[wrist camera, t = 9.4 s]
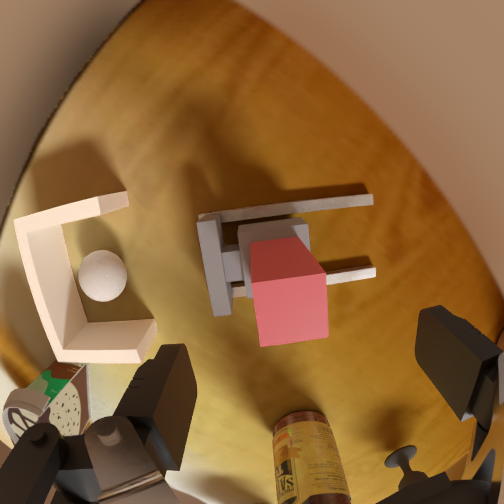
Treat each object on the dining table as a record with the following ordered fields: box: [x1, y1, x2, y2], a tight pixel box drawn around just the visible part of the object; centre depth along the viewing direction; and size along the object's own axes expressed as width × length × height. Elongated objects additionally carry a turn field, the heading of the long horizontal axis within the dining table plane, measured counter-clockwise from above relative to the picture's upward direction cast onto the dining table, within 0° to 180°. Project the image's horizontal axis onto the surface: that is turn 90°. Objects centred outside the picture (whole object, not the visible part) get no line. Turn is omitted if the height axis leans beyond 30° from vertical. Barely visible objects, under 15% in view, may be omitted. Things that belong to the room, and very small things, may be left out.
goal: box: [14, 191, 158, 363], centre depth 21 cm, size 8×12×5 cm
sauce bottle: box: [272, 411, 351, 504], centre depth 18 cm, size 6×6×20 cm
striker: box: [197, 214, 328, 347], centre depth 17 cm, size 7×6×10 cm
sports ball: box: [78, 250, 127, 302], centre depth 21 cm, size 4×4×4 cm
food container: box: [2, 360, 91, 444], centre depth 22 cm, size 12×6×10 cm, turn 164°
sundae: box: [385, 446, 429, 490], centre depth 24 cm, size 7×7×15 cm
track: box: [198, 193, 376, 298], centre depth 23 cm, size 13×7×1 cm, turn 98°
